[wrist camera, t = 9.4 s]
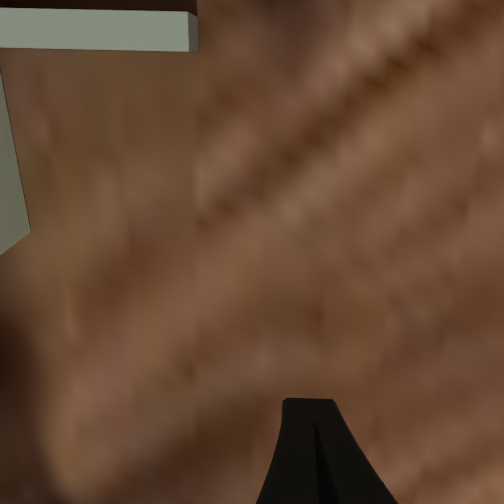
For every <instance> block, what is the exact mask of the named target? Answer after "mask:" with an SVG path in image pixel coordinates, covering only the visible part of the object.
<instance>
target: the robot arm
mask: <svg viewBox="0 0 504 504" xmlns="http://www.w3.org/2000/svg"><path fill="white" fill-rule="evenodd" d="M256 504H398V502H397V501H396V500H395V498H394V497H393V496H392V494H391V493H390V492H389V490H388V489H387V488H386V486H385V485H384V483H383V482H382V481H381V479H380V478H379V476H378V475H377V473H376V472H375V470H374V469H373V467H372V466H371V464H370V463H369V461H368V460H367V458H366V456H365V455H364V453H363V452H362V450H361V449H360V447H359V445H358V444H357V442H356V440H355V439H354V437H353V435H352V433H351V432H350V430H349V428H348V426H347V425H346V423H345V421H344V419H343V417H342V415H341V413H340V411H339V409H338V407H337V405H336V403H335V402H334V401H333V400H332V399H311V398H286V399H285V400H283V403H282V420H281V428H280V433H279V437H278V441H277V445H276V448H275V452H274V455H273V459H272V462H271V465H270V468H269V471H268V473H267V476H266V479H265V482H264V484H263V487H262V490H261V492H260V495H259V497H258V500H257V502H256Z"/></svg>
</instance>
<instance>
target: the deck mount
mask: <svg viewBox="0 0 504 504" xmlns="http://www.w3.org/2000/svg"><path fill="white" fill-rule="evenodd" d="M0 47H8V48H53V49H98V50H143V51H188V52H199V50H198V17H197V16H195V15H193V14H191V13H189V12H176V11H128V10H81V9H34V8H0ZM30 232H31V231H30V226H29V220H28V215H27V210H26V205H25V199H24V194H23V189H22V184H21V178H20V173H19V168H18V163H17V157H16V152H15V147H14V141H13V136H12V131H11V126H10V120H9V115H8V110H7V105H6V99H5V94H4V89H3V84H2V78H1V73H0V255H2V254H3V253H4V252H5V251H7V250H8V249H9V248H11V247H12V246H13V245H14V244H16V243H17V242H18V241H20V240H21V239H22V238H24V237H25V236H26V235H27V234H29V233H30Z"/></svg>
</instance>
